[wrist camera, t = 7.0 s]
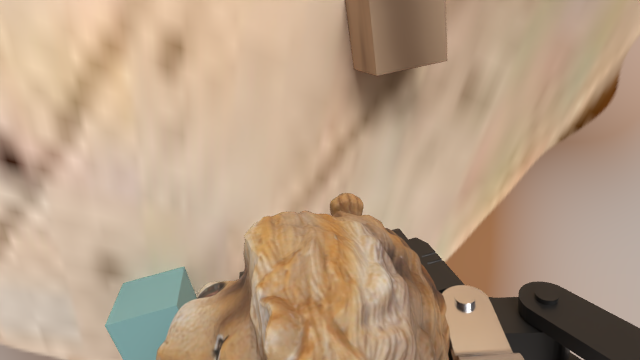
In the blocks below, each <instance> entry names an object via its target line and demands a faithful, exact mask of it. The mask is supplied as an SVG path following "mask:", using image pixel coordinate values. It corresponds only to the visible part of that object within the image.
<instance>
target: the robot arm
mask: <svg viewBox="0 0 640 360" xmlns="http://www.w3.org/2000/svg"><path fill="white" fill-rule="evenodd" d="M392 231H393V232H395V233H396V234H397V235H398V236H399V237H400V238H402V239H403V240H404V241H405V242H406V243H407V244H408V246H409V247H410V249H412V250H413V251H414V252H415V253H417V255H418V256H419V258H420V262H421V264H422V265H423V266H424V267H425V269H426V270H427V272H428V273H429V275H430V277H431V278H432V280H433V282H434V284H435V287H436V290H437V291H439V292H440V293H441V294H442V295H443V297H444V299H445V302H446V306H447V308H446V314H445V316H446V320H447V323H448V325H449V329H450V343H449V352H448V357H449V360H581V359H579V358H578V357H576V356H575V355H573V354H572V353H570V350H571V351H572V352H574V353H576V354H577V355H578V356H580V357H581V358H583V359H584V360H640V328H638V327H636V326H634V325H632V324H630V323H628V322H627V321H624V320H623V319H621V318H619V317H617V316H615V315H613V314H611V313H609V312H607V311H606V310H604V309H602V308H600V307H598V306H596V305H594V304H592V303H590V302H588V301H587V300H585V299H583V298H581V297H579V296H577V295H575V294H573V293H571V292H569V291H568V290H566V289H564V288H562V287H560V286H558V285H555V284H552V283H547V282H531V283H528V284H525V285H524V286H523V287H521V289H520V290H519V297H507V298H492V297H488V296H487V295H486V294H485V293H484V292H483V291H481V290H479V289H477V288H475V287H471V286H467V285H464V284H463V283H462V281H461V280H460V279H459V278H458V277H457V276H456V275H455V274H454V273H453V271H452V270H451V269H450V268H449V267H448V266H447V265H446V263H445V262H444V261H442V259H441V258H440V257H439V256H438V254H436V253H435V251H434V250H433V249H432V248H431V247H430V245H429V244H428V243H426V242H424V241H422V240H420V239H418V238H412V239H409V240H408V239H407V238H406V236H405V235H404V234H403V233H402V231H401V230H400V229H394V230H392ZM243 274H244V271H243V272H240V278H241V276H242V275H243Z"/></svg>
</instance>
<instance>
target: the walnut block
mask: <svg viewBox="0 0 640 360" xmlns="http://www.w3.org/2000/svg"><path fill="white" fill-rule="evenodd" d="M345 4H346V12H347V20H348V28H349V35H350V43H351V51H352V59H353V67H354V69H355V70H359V71H362V72H365V73H369V74H372V75H376V76H378V75H383V74H388V73H393V72H397V71H402V70H407V69H411V68H416V67H421V66H425V65H430V64H435V63H440V62H444V61H447V33H446V0H345Z"/></svg>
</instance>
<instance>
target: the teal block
mask: <svg viewBox="0 0 640 360" xmlns="http://www.w3.org/2000/svg"><path fill="white" fill-rule="evenodd" d="M193 299H197V298H196V295H195V293H194V290H193V288H192V285H191V283H190V280H189V277H188V275H187V272H186V270H185V267H181V268H177V269H174V270H170V271H166V272H163V273H159V274H155V275H152V276H148V277H144V278H141V279H137V280H133V281H130V282H126V283H123V285H122V287H121V290H120V292H119V294H118V297H117V299H116V301H115V304H114V306H113V308H112V311H111V313H110V315H109V318H108V320H107V322H106V325H105V327H106V329H107V330H108V332H109V334H110V336H111V338H112V340H113V341H114V343H115V345H116V347H117V349H118V351H119V353H120V354H121V356H122V358H123V360H156V356H157V350H158V348H159V347H160V346H161V344H162V343H163V342H164V341H165V339H166V336H167V333H168V330H169V327H170V324H171V322H172V320H173V318H174V317H175V315H176V313H177V312H178V310H179V309H180V308H181V307H182V306H183V305H184V304H185V303H187V302H189V301H191V300H193Z"/></svg>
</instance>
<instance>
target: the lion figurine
mask: <svg viewBox="0 0 640 360" xmlns="http://www.w3.org/2000/svg"><path fill="white" fill-rule="evenodd" d="M330 211H331V215H332V216H331V215H328V214H314V213H311V212H309V211H302V212H300V213H299V214H298V213H296V212H282V213H279V214H277V215H275V216H272V217H270V216H267V217H263V218H262V219H261V221H259V222H256V223H255V224H253V226H252V227H251V228H250V229H249V230H248V232H247V233H246V234H245V235H244V238H245V243H244V259H245V270H244V274H243V275H242V276H241V278H240V279H238V280H236V281H222V282H210V283H208V284H206V285H205V286H204V287H203V288H202V289H201V290H200V292H199V294H198V296H197V299H193V300H191V301H189V302H187V303H185V304H184V305H183V306H182V307H181V308H180V309H179V310H178V312H177V313H176V315H175V317H174V318H173V320H172V322H171V324H170V327H169V330H168V333H167V336H166V339H165V341H164V342H163V343H162V344H161V346H160V347H159V348H158V350H157V356H156V360H449V357H448V352H449V343H450V329H449V325H448V323H447V320H446V316H445V314H446V308H447V306H446V302H445V299H444V297H443V295H442V294H441V293H440V292H439V291H437V290H436V287H435V284H434V282H433V280H432V278H431V277H430V275H429V273H428V272H427V270H426V269H425V267H424V266H423V265H422V264H421V262H420V258H419V256H418V255H417V253H415V252H414V251H413V250H412V249H410V247H409V246H408V244H407V243H406V242H405V241H404V240H403V239H402V238H400V237H399V236H398V235H397V234H396V233H395V232H393V231H392V230H389V229H388V228H384V226H383V224H382V222H380V221H379V220H377V219H375V218H374V217H372V216H370V215H362V211H363V202H362V201H361V199H360V198H358V197H357V196H355V195H353V194H350V193H343V194H340V195H339V196H338V197H336V198H335V199H333V200H332V201H331V203H330Z"/></svg>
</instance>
